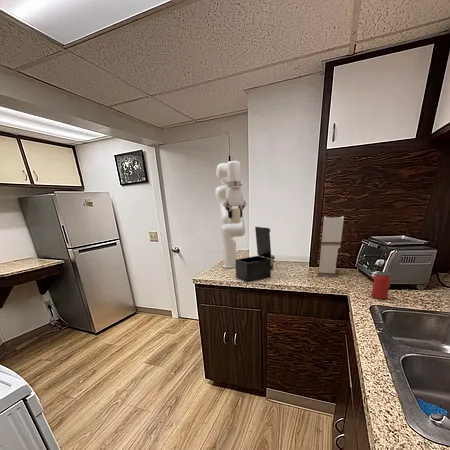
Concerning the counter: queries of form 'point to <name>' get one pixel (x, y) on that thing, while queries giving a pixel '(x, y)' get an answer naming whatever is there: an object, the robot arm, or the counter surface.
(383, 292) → the beer can
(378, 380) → the counter surface
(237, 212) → the cup
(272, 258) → the food container
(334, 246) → the stepped grey pillar
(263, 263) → the black lidded box
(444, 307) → the counter surface
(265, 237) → the black box lid
